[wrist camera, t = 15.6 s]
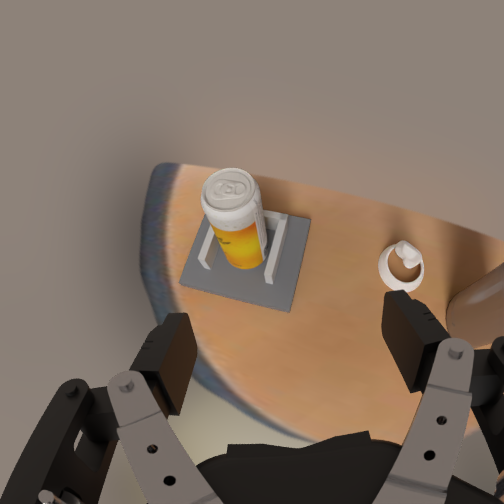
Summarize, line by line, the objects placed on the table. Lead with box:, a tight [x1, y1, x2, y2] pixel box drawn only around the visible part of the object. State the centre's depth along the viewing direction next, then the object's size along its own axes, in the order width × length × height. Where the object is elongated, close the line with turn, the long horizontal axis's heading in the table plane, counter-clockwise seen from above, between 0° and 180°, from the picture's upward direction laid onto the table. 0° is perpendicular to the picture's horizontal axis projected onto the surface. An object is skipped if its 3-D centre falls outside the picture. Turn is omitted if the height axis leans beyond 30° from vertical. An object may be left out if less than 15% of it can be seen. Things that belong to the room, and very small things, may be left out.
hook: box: [378, 240, 424, 292], centre depth 36 cm, size 8×12×7 cm
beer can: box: [201, 168, 268, 269], centre depth 35 cm, size 6×6×15 cm
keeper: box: [179, 210, 311, 312], centre depth 41 cm, size 16×14×5 cm
